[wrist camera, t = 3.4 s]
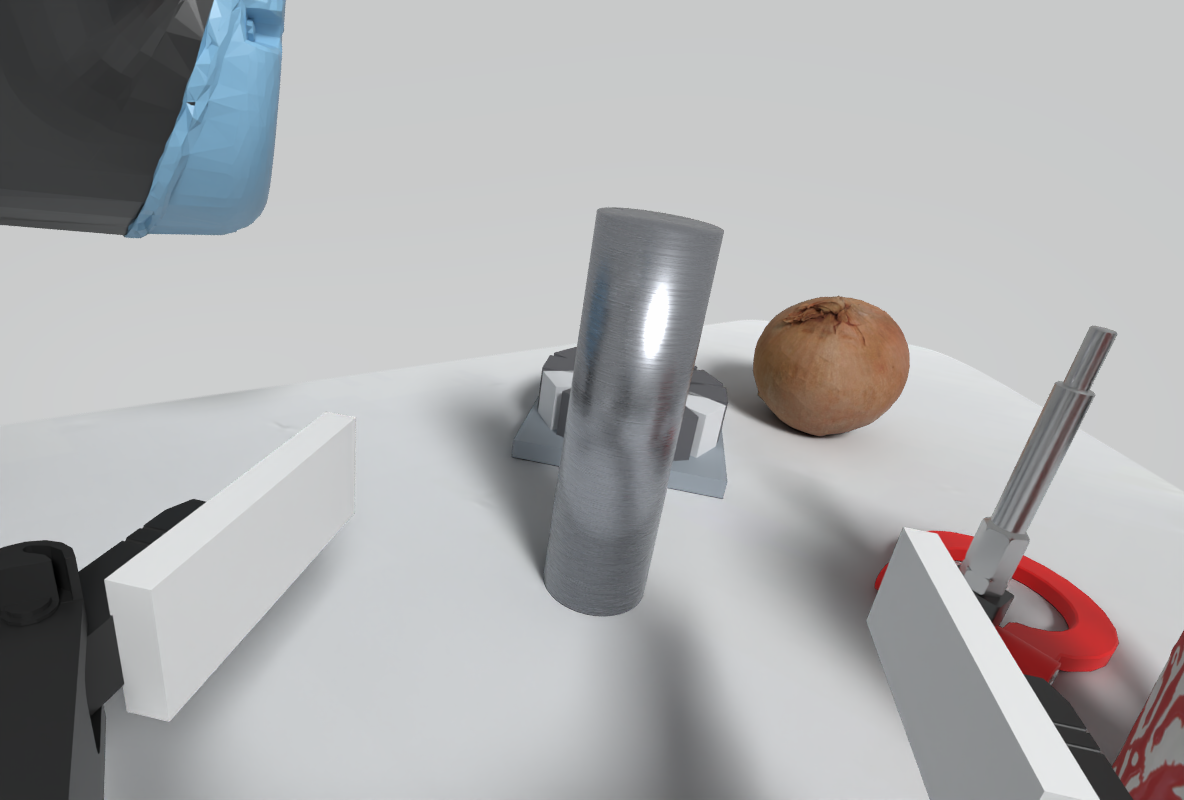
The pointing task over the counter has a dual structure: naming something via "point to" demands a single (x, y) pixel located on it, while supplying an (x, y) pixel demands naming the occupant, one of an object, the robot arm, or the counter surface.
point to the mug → (1158, 738)
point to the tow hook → (1006, 539)
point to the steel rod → (627, 403)
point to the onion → (831, 365)
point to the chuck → (697, 441)
